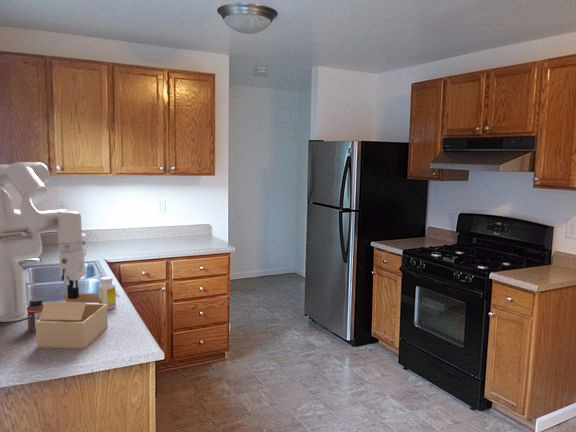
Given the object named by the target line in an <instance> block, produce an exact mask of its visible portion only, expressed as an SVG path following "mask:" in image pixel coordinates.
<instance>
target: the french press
mask: <svg viewBox="0 0 576 432" xmlns="http://www.w3.org/2000/svg"><path fill="white" fill-rule="evenodd" d="M86 236H87V234H86V233H83V232H82V238H84V237H86ZM82 246H83V254H84V259H85V258H88V257H89V255H88V254H87V243H86V240H82Z"/></svg>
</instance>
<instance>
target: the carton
mask: <svg viewBox="0 0 576 432" xmlns="http://www.w3.org/2000/svg"><path fill="white" fill-rule="evenodd" d="M108 323H109V322H108V309H107V304H99V303H86V305H85V309H84V312H83V315H82V318H81V320H40V319H39V320H38V321H36V322H35V325H36V331H35V340H36V341H35V343H36V348H37V349H71V350H77V349H79V350H80V349H81V350H85V349H86V348H87V347H88V346H89V345H90V344H91V343H93V341H95V340H96V339H97V338H98V337H99V336H100V335H101V334H102V333H103V332H104V331H105V330H107V328H108Z"/></svg>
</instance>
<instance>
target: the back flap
mask: <svg viewBox="0 0 576 432" xmlns="http://www.w3.org/2000/svg"><path fill="white" fill-rule="evenodd" d="M59 295H60V296H61V297H62V299H63V300H64V302H86V304H99V303H103V300H102V299H101V297H100V296H99V293H92V292H90V293H87V292H85V293H84V292H79V298H77V299H68V292H60V293H59Z"/></svg>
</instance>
